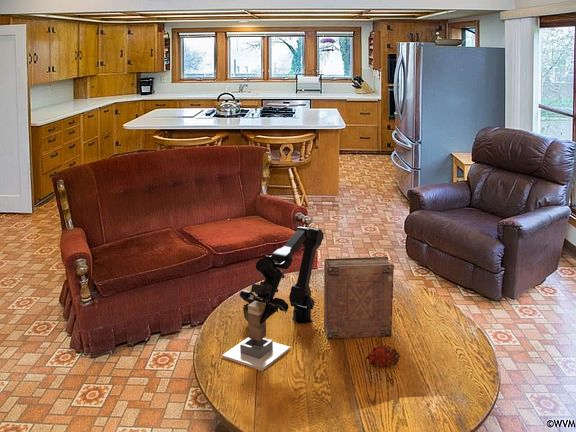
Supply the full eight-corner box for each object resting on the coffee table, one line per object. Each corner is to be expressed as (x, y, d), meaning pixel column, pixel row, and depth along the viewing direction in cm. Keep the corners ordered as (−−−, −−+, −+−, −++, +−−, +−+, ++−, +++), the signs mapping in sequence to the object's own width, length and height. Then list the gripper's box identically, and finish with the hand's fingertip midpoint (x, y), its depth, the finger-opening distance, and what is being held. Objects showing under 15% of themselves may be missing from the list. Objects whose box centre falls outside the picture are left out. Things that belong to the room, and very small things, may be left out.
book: (385, 326, 238) (388, 256, 230) (391, 336, 230) (394, 264, 222) (323, 328, 237) (324, 258, 228) (327, 339, 228) (327, 267, 220)
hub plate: (251, 337, 230) (251, 327, 229) (290, 349, 221) (290, 338, 219) (222, 357, 215) (222, 346, 214) (262, 370, 206) (262, 359, 205)
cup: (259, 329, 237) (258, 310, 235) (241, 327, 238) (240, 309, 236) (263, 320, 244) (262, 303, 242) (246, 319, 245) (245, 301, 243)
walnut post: (255, 332, 219) (255, 300, 215) (266, 335, 216) (265, 303, 213) (248, 338, 215) (247, 305, 211) (259, 341, 213) (258, 308, 209)
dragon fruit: (402, 371, 208) (368, 375, 209) (398, 349, 213) (365, 353, 214) (402, 361, 201) (367, 365, 202) (398, 339, 206) (363, 343, 207)
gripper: (241, 269, 217) (224, 307, 211) (284, 278, 208) (267, 319, 202) (253, 282, 226) (237, 319, 220) (295, 291, 217) (280, 331, 211)
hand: (255, 321), depth 213 cm, fingers closed on walnut post, 5 cm apart
